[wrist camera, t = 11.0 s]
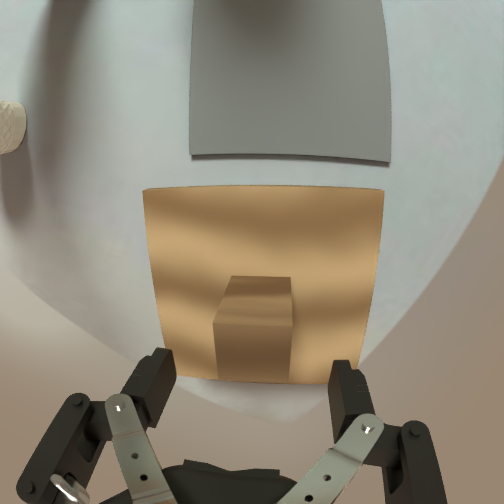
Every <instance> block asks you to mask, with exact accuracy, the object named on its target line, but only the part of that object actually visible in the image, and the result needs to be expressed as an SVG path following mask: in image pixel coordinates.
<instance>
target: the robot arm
mask: <svg viewBox="0 0 504 504" xmlns="http://www.w3.org/2000/svg"><path fill="white" fill-rule="evenodd" d="M176 376H177V372H176V367H175V362H174V357H173V352H172V350H171V349H165V348H158V347H157V348H156V349H155V351H154V352H153V354H152V356H148V355H147V356H145V357H144V358H143V359H142V360H140V361H139V363H138V364H137V366H136V369H134V371H133V373H132V375H131V376H130V378H129V379H128V381H127V382H126V384H125V386H124V387H123V389H122V391H121V392H120V394H115V395H112V396H110V397H109V398H108V399H107V400H106V401H90V399H89V397H88V396H87V395H85V394H83V393H75V394H72V395H70V396H69V397H68V398H67V399H66V401H65V402H64V404H63V405H62V407H61V408H60V410H59V412H58V413H57V415H56V416H55V418H54V419H53V421H52V423H51V424H50V426H49V428H48V429H47V431H46V433H45V434H44V436H43V438H42V439H41V441H40V443H39V444H38V446H37V448H36V449H35V451H34V453H33V455H32V456H31V458H30V460H29V462H28V464H27V465H26V467H25V469H24V471H23V473H22V475H21V476H20V478H19V480H18V482H17V485H16V491H17V494H18V496H19V497H20V498H21V499H22V500H23V501H24V502H26V503H27V504H89V502H90V497H89V494H88V492H87V491H86V487H87V485H88V482H89V480H90V478H91V475H92V473H93V470H94V468H95V466H96V464H97V461H98V459H99V457H100V454H101V452H102V450H103V448H104V445H105V443H106V441H112V443H113V446H114V449H115V452H116V456H117V459H118V462H119V464H120V467H121V470H122V473H123V476H124V479H125V481H126V484H127V487H128V489H127V490H125V491H123V492H121V493H119V494H117V495H115V496H113V497H111V498H109V499H107V500H105V501H103V502H101V503H99V504H334V503H335V501H336V500H337V499H338V498H339V496H340V495H341V493H342V492H343V491H344V490H345V488H346V487H347V486H348V484H349V483H350V482H351V480H352V479H353V478H354V476H355V475H356V474H357V472H358V471H359V469H360V468H361V467H362V465H363V464H367V465H374V466H380V467H382V474H383V482H384V492H385V503H386V504H447V499H446V494H445V490H444V485H443V481H442V476H441V472H440V468H439V464H438V461H437V457H436V453H435V449H434V446H433V442H432V439H431V435H430V432H429V429H428V427H427V426H426V425H425V424H424V423H422V422H420V421H409V422H407V423H405V424H404V425H403V426H402V427H399V426H392V425H387V424H385V423H383V421H382V420H381V419H380V418H379V417H378V416H376V414H375V411H374V408H373V404H372V401H371V397H370V393H369V389H368V386H367V382H366V379H365V376H364V375H363V374H362V373H361V371H360V370H359V369H352V368H351V365H350V361H349V360H348V359H347V360H334V361H333V364H332V369H331V373H330V377H329V382H328V396H329V403H330V412H331V420H332V427H333V437H334V444H335V446H334V447H333V448H330V449H328V450H327V451H326V453H325V454H324V455H323V456H322V457H321V458H320V459H319V460H318V462H317V463H316V464H315V465H314V466H313V467H312V468H311V469H310V471H308V473H307V474H306V475H305V476H304V477H303V478H302V479H301V480H300V481H299V482H298V483H297V482H296V481H294V480H292V479H290V478H287V477H284V476H280V475H279V474H280V470H274V469H248V470H240V471H227V470H225V469H222V468H219V467H216V466H213V465H211V464H208V463H203V462H197V461H191V460H186V459H185V460H184V463H183V465H176V466H171V467H167V468H164V469H162V467H161V465H160V463H159V461H158V459H157V457H156V455H155V452H154V450H153V448H152V446H151V443H150V441H149V439H148V436H147V434H146V430H147V428H148V427H152V428H156V426H157V423H158V421H159V419H160V416H161V414H162V412H163V409H164V407H165V405H166V402H167V400H168V398H169V396H170V393H171V391H172V389H173V386H174V384H175V381H176Z"/></svg>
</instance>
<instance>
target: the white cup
mask: <svg viewBox="0 0 504 504" xmlns="http://www.w3.org/2000/svg"><path fill="white" fill-rule="evenodd" d="M26 119H27V117H26V113H25V108H24V107H23V106H22V105H21V104H20V103H13V102H5V101H1V100H0V154H4V153H9V152H12V151H14V150H15V149H17V148H18V147H19V145H20V143H21V142H22V140H23V137H24V134H25V130H26Z"/></svg>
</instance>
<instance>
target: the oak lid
mask: <svg viewBox="0 0 504 504" xmlns="http://www.w3.org/2000/svg"><path fill="white" fill-rule="evenodd" d="M143 203H144V214H145V224H146V233H147V242H148V250H149V257H150V265H151V272H152V278H153V285H154V291H155V297H156V303H157V308H158V314H159V319H160V324H161V329H162V334H163V339H164V344H165V348H166V349H171V350H172V352H173V357H174V362H175V367H176V372H177V375H180V376H188V377H196V378H204V379H214V380H225V381H238V382H253V383H277V384H328V382H329V377H330V373H331V369H332V364H333V361H334V360H347V359H348V360H349V361H350V365H351V368H352V369H357V366H358V362H359V358H360V354H361V350H362V345H363V341H364V336H365V332H366V327H367V322H368V317H369V312H370V306H371V301H372V295H373V289H374V283H375V276H376V270H377V263H378V255H379V247H380V238H381V228H382V218H383V205H384V191H383V190H380V189H369V188H352V187H331V186H301V185H219V186H189V187H168V188H151V189H146V190H143Z"/></svg>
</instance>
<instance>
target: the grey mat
mask: <svg viewBox="0 0 504 504" xmlns="http://www.w3.org/2000/svg"><path fill="white" fill-rule="evenodd" d="M233 153H263V154H299V155H318V156H334V157H346V158H357V159H368V160H377V161H385V162H391V85H390V69H389V57H388V46H387V37H386V29H385V22H384V15H383V9H382V3H381V0H194V11H193V25H192V41H191V62H190V94H189V155H197V154H233Z"/></svg>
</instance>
